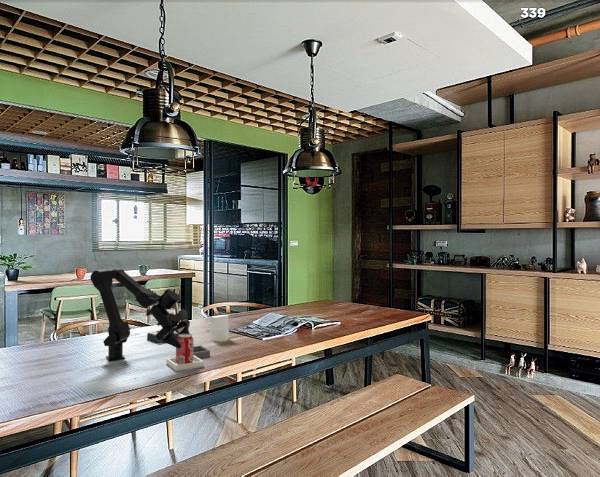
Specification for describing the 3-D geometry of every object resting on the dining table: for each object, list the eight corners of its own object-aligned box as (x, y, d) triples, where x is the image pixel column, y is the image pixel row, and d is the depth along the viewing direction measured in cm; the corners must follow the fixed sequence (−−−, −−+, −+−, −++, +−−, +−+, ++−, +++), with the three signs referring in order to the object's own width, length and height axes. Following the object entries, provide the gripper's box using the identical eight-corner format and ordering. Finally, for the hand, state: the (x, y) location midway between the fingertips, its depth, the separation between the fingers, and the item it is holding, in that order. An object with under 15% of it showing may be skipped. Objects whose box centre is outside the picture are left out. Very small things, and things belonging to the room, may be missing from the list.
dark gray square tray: (179, 354, 196) (179, 348, 196) (200, 350, 202) (201, 345, 202) (187, 359, 188) (187, 353, 188) (209, 356, 194) (210, 350, 194)
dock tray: (166, 364, 182) (166, 358, 182) (193, 359, 188) (193, 354, 188) (175, 371, 172) (176, 365, 172) (203, 366, 179) (203, 361, 179)
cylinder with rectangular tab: (216, 342, 218) (216, 318, 218) (207, 338, 225) (207, 315, 225) (231, 339, 224) (231, 316, 224) (222, 336, 231) (222, 313, 230)
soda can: (192, 361, 185) (193, 332, 184) (194, 365, 178) (194, 336, 178) (175, 362, 182) (175, 333, 182) (176, 367, 176) (176, 337, 176)
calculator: (184, 331, 226) (159, 335, 214) (184, 340, 225) (158, 344, 214) (172, 328, 233) (147, 331, 221) (172, 336, 232) (146, 340, 221)
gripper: (162, 307, 172) (187, 337, 169) (186, 300, 190) (209, 327, 187) (145, 326, 174) (169, 356, 171) (170, 317, 192) (192, 344, 190)
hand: (186, 345), depth 180 cm, fingers open, 9 cm apart
